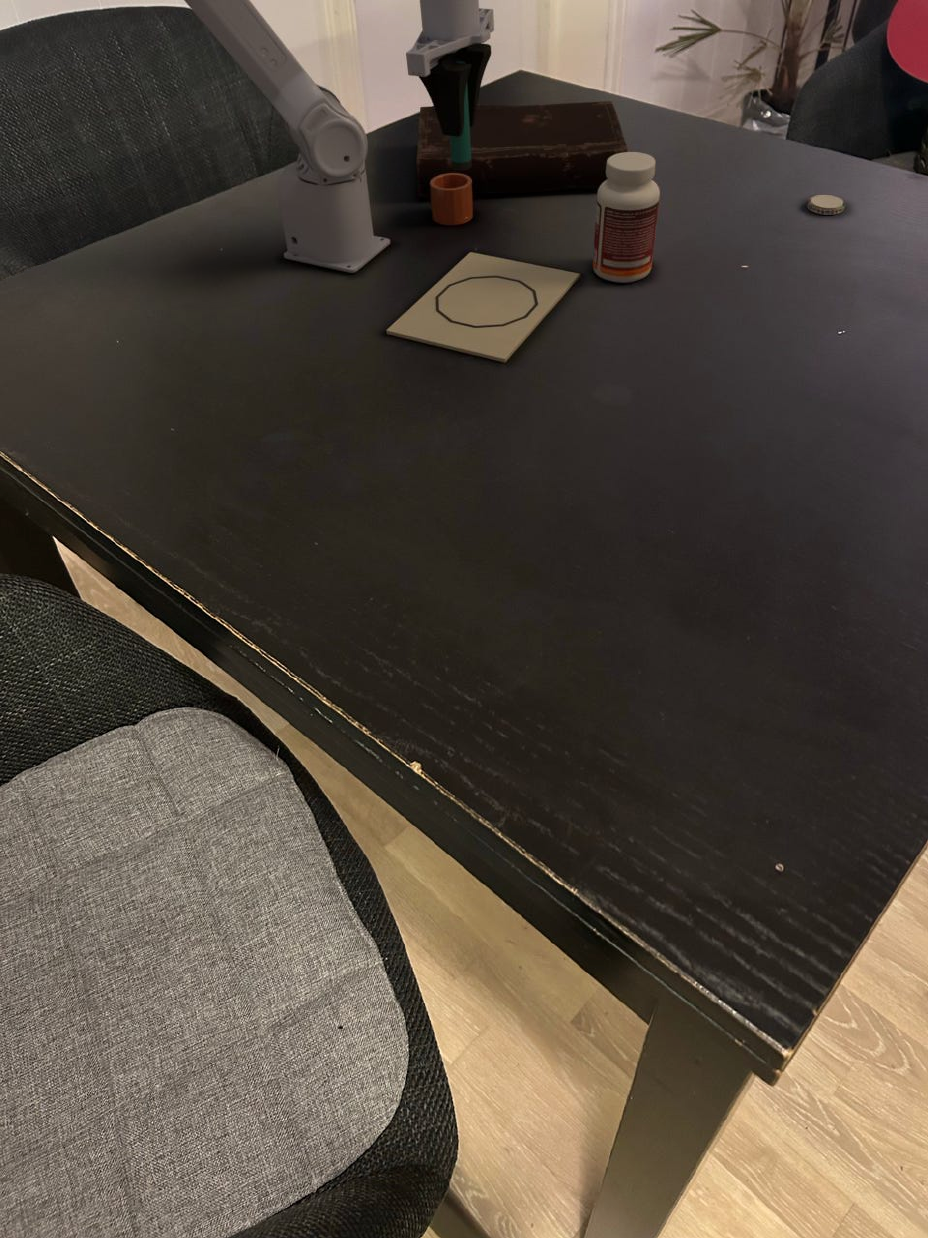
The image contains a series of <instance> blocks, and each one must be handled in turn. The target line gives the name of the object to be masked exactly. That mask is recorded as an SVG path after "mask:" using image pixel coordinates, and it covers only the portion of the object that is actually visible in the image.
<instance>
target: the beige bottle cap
mask: <svg viewBox="0 0 928 1238" xmlns="http://www.w3.org/2000/svg"><path fill="white" fill-rule="evenodd" d="M806 206H807V209H808V210H809V211H811V212H812V213H815V214H819V215H838V214H841V213H842V212H844V210H845V206H846V202H845V200H844V199H843V198H841V197H839V196H836V195H832V194H817V195H813V196H811V197H809V198H808V201H807V205H806Z"/></svg>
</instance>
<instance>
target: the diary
mask: <svg viewBox="0 0 928 1238" xmlns="http://www.w3.org/2000/svg"><path fill="white" fill-rule="evenodd" d="M418 117H419V119H418V130H417V146H416V147H417V148H416V160H415V161H416V163H415V164H416V176H417V177H416V178H417V189H418V197H419V198H431V192H430V181H431V180H432V179H433V178H434V177H436V176H439V175H442V174H448V173H459V174H464V175H467V176H469V177H470V178H471V179H472V192H473V194H500V193H503V194H509V193H511V194H512V193H532V192H544V191H556V190H568V189H599V187H600V186H601V184H602V183H603V182H604V181H606V180H607V179H608V178H607V176H606V166H607V160H608V158H609V157H611V156H612V155H615V154H618V153H624V152H629V149H628V146H627V142H626V140H625V137H624V133H623V130H622V127H621V126H622V125H621V122H620V120H619V117H618V115H617V110H616V108H615V106H614V104H613V101H611V100H604V101H602V100H601V101H586V102H585V101H584V102H583V101H582V102H565V103H564V102H563V103H546V104H544V103H543V104H526V105H524V104H523V105H507V104H506V105H505V104H483V103H482V104H481V103H478V105H477V112H476V118H475V123H474V126H472V127H470V144H471V162H472V166H471V168H469V169H467V170H461V171H459V170H454V169H453V168H452V163H451V149H450V136H448V135H443V133H442V130H441V127H440V124H439V120H438V117H437V114H436V111H435V108H434V105H431V106H420V108H419V116H418Z"/></svg>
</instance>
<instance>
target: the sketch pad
mask: <svg viewBox="0 0 928 1238" xmlns="http://www.w3.org/2000/svg"><path fill="white" fill-rule="evenodd" d="M580 276H581V273H577V272H573V271H568V270H563V269H558V268H552V267H546V266H542V265H538V264H532V263H527V262H522V261H517V260H513V259H508V258H502V257H497V256H492V255H488V254H482V253H477V252H472V251H470V252H469V253H467V254H466V255H465V256H464V257H463V258H462V259H461V260H460V261H459V262H458V263H457V264H456V265H454V267H452V269H450V270H449V271H448V272H447V273H446V274H445V275H443V277H442V278H441V279H440V280H438V281H437V282H436V284H434V285H432V287H431V288H430V289H429V290H427V292H426V293H425V294H424V295H422V296H421V297H420V298H419V299H418V300H417V301H416V302H415V303H414V304H413V305H412V306H411V307H410V308H409V309H407V310H406V311H405V312H404V313H403V314H402V315H401V316H400V317H399V318H398V319H397V320H396V321H395V322H394V323H392V324H391V325H390V326H389V327H388V328H387V329H386V335H390V336H392V337H393V336H394V337H399V338H402V339H406V340H410V341H415V342H419V343H422V344H426V345H431V346H434V347H439V348H444V349H447V350H451V351H454V352H455V351H456V352H460V353H464V354H468V355H472V356H477V357H479V358H480V357H481V358H483V359H489V360H492V361H497V362H500V363H505V364H506V362H507V361H509V359H510V358H511V356H513V354H514V353H515V352H516V351H517V350H518V349H519V347H521V345H522V344H523V343H524V342H525V341H526V340H527V338H528V337H529V336H530V335H531V334H532V333H533V331H534V330H535V329H536V328H537V327H538V326H539V324H540V323H542V321H543V320H545V318H546V316H547V315H548V314H549V313H550V312H551V311H552V309H553V308H555V306H556V305H557V304H558V303H559V302H560V301H561V299H562V298H563V297H564V296H565V294H567V292H569V290H570V289H571V288H572V287H573V286H574V284H575V283H576V282H577V281H578V280H579V279H580Z"/></svg>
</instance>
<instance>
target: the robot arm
mask: <svg viewBox="0 0 928 1238" xmlns="http://www.w3.org/2000/svg"><path fill="white" fill-rule="evenodd" d="M183 1H184V2H185V3H186V5H188V7H189V8H190V9H191V10H192V11H193V13H194V14H195V15H196V16H197V18H198V19H199V20H200V21H201V22H202V24H203V25H204V26H205V27H206V28H207V29H208V31H210V33H211V34H212V35H213V36H214V37H215V39H216V40H217V41H218V42H219V44H220V45H221V46H222V47H223V48H224V50H226V51H227V53H228V54H229V55H230V57H231V58H232V59H233V60H234V61H235V62H236V63H237V64H238V66H239V67H240V68H241V70H243V72H244V73H245V74H246V75H247V77H248V78H249V79H250V81H252V83H254V84H255V86H256V87H257V89H259V91H260V92H261V93H262V94H263V96H264V97H265V98H266V99H267V100H268V101H269V102H270V104H271V105H272V106H273V107H274V109H275V110H276V111H277V112H278V114H279V115H280V116H281V117H282V118H283V120H284V125H285V127H286V131H287V134H288V136H289V137H290V139H291V141H292V142H293V143H294V144H295V145H296V146H297V147H298V148H299V153H298V157H297V160H296V162H292V163H289V164H288V165H287V166H285V168H284V169H283V170H282V172H281V174H280V175H279V178H278V183H277V203H278V208H279V213H280V219H281V223H282V228H283V234H284V239H285V243H286V249H287V251H285V252H284V253H283V258H284V259H286V260H290V261H295V262H299V263H304V264H308V265H313V266H318V267H322V268H327V269H331V270H336V271H339V272H345V273H350V274H355V273H357V272H358V271H359V270H360V269H361V268H363V267H364V266H365V265H366V264H368V263H369V262H370V261H371V260H372V259H374V258H375V257H376V256H377V255H379V254H380V253H381V252H382V251H383V250H384V249H386V248H387V247H388V246H389V245H390V244H391V239H390V238H387V237H382V236H377V235H374V226H373V219H372V210H371V203H370V202H371V201H370V194H369V193H370V192H369V186H368V177H367V170H366V162H365V161H366V159H367V155H368V149H369V147H368V146H369V145H368V138H367V133H366V131H365V129H364V127H363V125H362V124H361V123H360V121H359V120H358V119H357V118H356V117H355V116H353V115H351V114H350V113H349V112H348V111H347V109H346V108H345V107H344V106H343V105H342V103H341V101H340V99H339V98H338V97H337V96H336V95H335V94H334V92H332V91H331V90H329V89H328V88H327V87H323V86H321V85H320V84H317V83H316V82H315V81H314V79H313V78H312V77H311V76H310V75H309V74H308V72H307V71H306V70H305V68H304V67H303V66H302V65H301V63H300V62H299V61H298V60H297V58H296V57H295V56H294V54H292V52H291V51H290V49H289V48H288V47H287V45H286V44H285V43H284V42H283V40H282V39H281V38H280V36H278V34H277V33H276V31H275V30H274V29H273V28H272V26H270V24H269V22H268V21H267V20H266V19H265V18H264V16H263V15H262V14H261V12H260V11H259V10H258V9H257V7H256V6H255V5H254V4H253V2H252V1H251V0H183ZM419 8H420V9H419V10H420V18H421V29H422V30H421V32H420V33H419V35H418V37H417V39H416V41H415V43H414V44H413V46H412V47H411V48H410V49H409V50H408V51H406V53H405V58H406V59H405V60H406V68H407V75H408V76H410V77H411V76H412V77H418V78H419V79H420V81H421V83H422V84H423V86H424V88H425V89H426V91H427V94H428V95H429V98H430V100H431V103H432V106H434V108H435V111H436V114H437V117H438V120H439V124H440V127H441V130H442V133H443V135H448V136H456V137H460V136H461V135H462V133H463V127H464V98H465V90H466V84H467V89H468V107H469V125H470V127H472V126H474V123H475V118H476V112H477V105H478V104H479V96H480V92H481V86H482V82H483V78H484V75H485V71H486V69H487V66H488V63H489V61H490V59H491V57H492V45H491V44H489V43H486V42H487V41H489V40H491V33H492V32H494V31H495V21H494V9H493V8H482V7H481V8H480V1H479V0H419ZM457 60H459V61H464V62H466V63H457Z"/></svg>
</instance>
